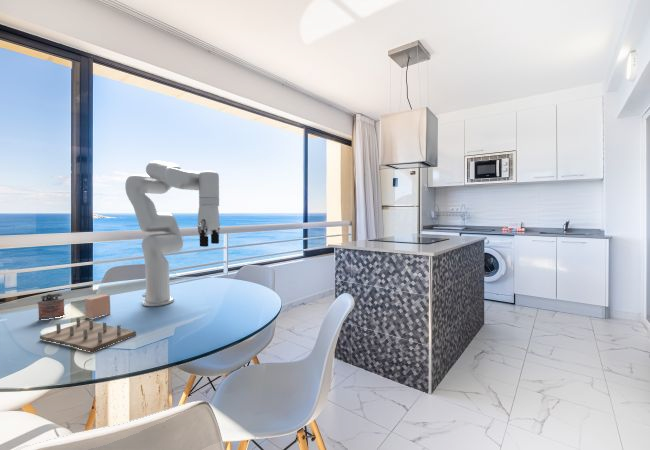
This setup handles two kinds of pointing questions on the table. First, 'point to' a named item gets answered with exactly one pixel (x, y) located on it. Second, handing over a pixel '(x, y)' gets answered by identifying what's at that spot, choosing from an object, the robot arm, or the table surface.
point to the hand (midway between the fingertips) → (209, 244)
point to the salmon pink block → (97, 306)
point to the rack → (88, 335)
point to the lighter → (51, 306)
